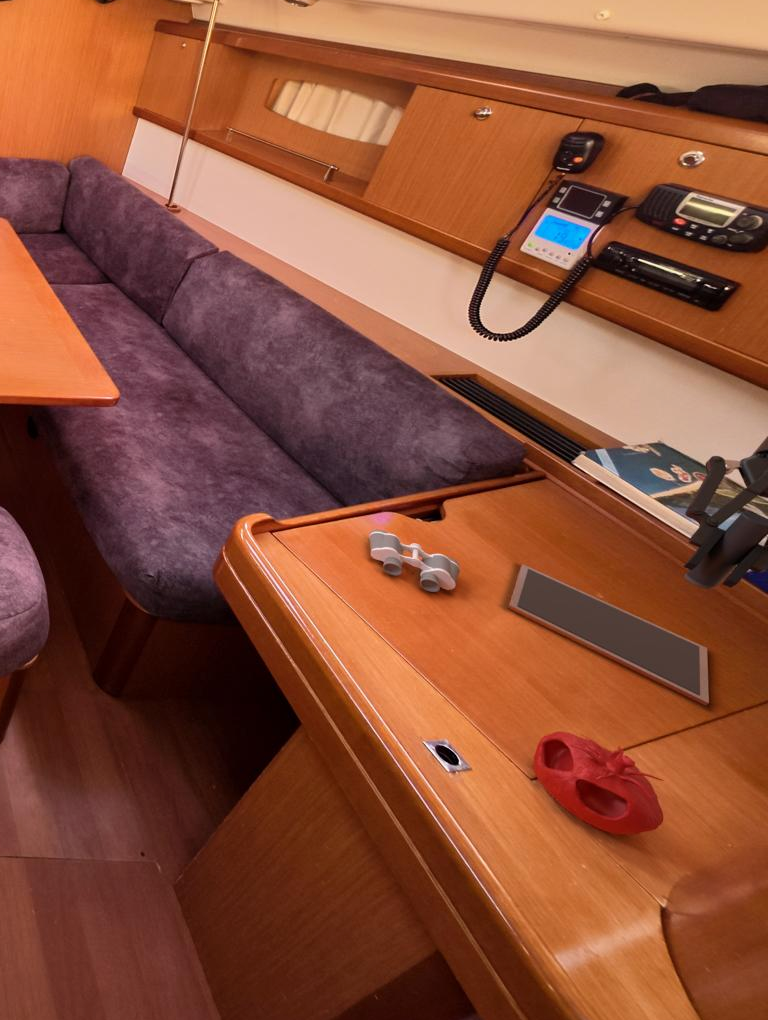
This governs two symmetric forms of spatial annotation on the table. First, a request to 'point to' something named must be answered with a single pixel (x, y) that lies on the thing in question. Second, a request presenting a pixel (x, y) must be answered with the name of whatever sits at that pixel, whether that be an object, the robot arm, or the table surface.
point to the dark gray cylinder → (729, 550)
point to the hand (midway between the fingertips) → (709, 574)
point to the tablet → (613, 633)
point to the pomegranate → (597, 784)
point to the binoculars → (414, 561)
